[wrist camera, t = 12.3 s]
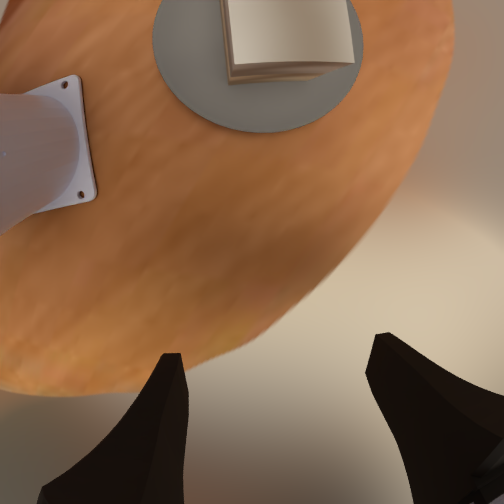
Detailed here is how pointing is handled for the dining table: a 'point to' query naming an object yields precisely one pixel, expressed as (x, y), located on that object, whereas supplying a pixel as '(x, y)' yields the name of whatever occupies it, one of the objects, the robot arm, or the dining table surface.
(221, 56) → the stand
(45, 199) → the robot arm
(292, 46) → the block
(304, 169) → the dining table surface
